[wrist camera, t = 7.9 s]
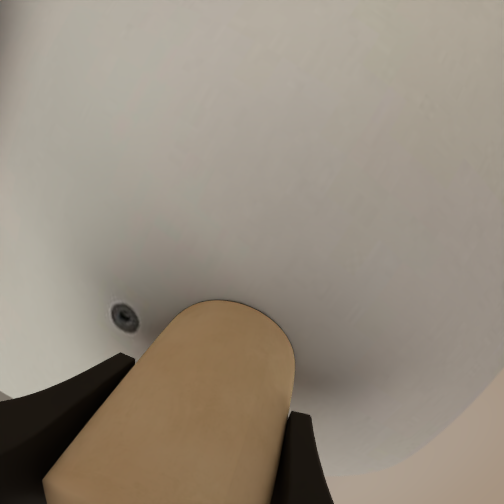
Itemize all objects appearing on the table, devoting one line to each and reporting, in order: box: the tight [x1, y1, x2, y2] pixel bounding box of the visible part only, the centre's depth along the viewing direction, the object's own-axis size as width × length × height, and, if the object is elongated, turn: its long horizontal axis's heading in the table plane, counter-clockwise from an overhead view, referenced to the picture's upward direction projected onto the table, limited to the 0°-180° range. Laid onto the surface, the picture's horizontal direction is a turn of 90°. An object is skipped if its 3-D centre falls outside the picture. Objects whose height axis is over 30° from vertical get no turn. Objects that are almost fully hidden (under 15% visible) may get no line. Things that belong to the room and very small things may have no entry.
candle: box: [42, 300, 295, 504], centre depth 8 cm, size 6×6×10 cm
